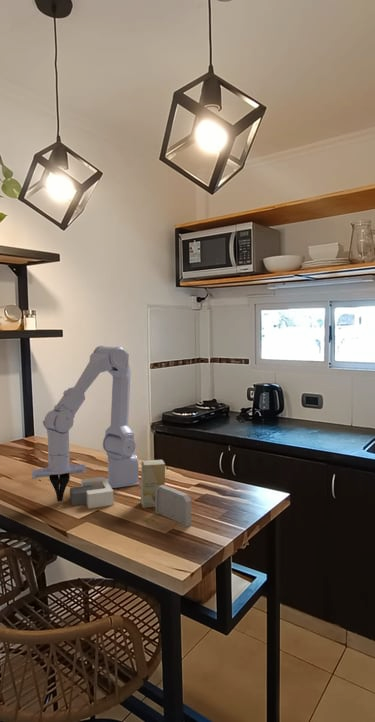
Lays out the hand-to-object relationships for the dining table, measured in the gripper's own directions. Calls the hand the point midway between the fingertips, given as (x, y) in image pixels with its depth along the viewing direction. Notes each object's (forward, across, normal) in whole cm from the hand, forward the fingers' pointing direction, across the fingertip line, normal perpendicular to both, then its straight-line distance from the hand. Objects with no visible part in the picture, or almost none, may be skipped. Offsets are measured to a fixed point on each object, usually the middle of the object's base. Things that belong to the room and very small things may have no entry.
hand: (59, 500), depth 127 cm
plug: (+1, -6, 0) cm, 6 cm away
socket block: (+1, -10, 0) cm, 10 cm away
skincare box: (+1, -24, +10) cm, 26 cm away
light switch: (+1, -26, +21) cm, 34 cm away
